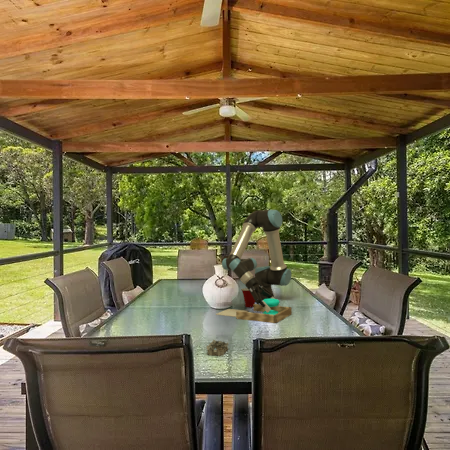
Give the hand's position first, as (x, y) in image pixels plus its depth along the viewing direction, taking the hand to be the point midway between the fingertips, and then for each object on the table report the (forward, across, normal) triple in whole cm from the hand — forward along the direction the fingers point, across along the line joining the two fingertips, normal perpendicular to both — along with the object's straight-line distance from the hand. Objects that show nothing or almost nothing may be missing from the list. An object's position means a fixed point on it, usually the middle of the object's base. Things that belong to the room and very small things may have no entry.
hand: (273, 308), depth 221 cm
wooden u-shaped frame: (-1, 0, -8) cm, 8 cm away
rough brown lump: (+5, +66, -2) cm, 67 cm away
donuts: (+2, 0, -5) cm, 6 cm away
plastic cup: (-15, -22, -22) cm, 34 cm away
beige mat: (-16, 0, -22) cm, 27 cm away
